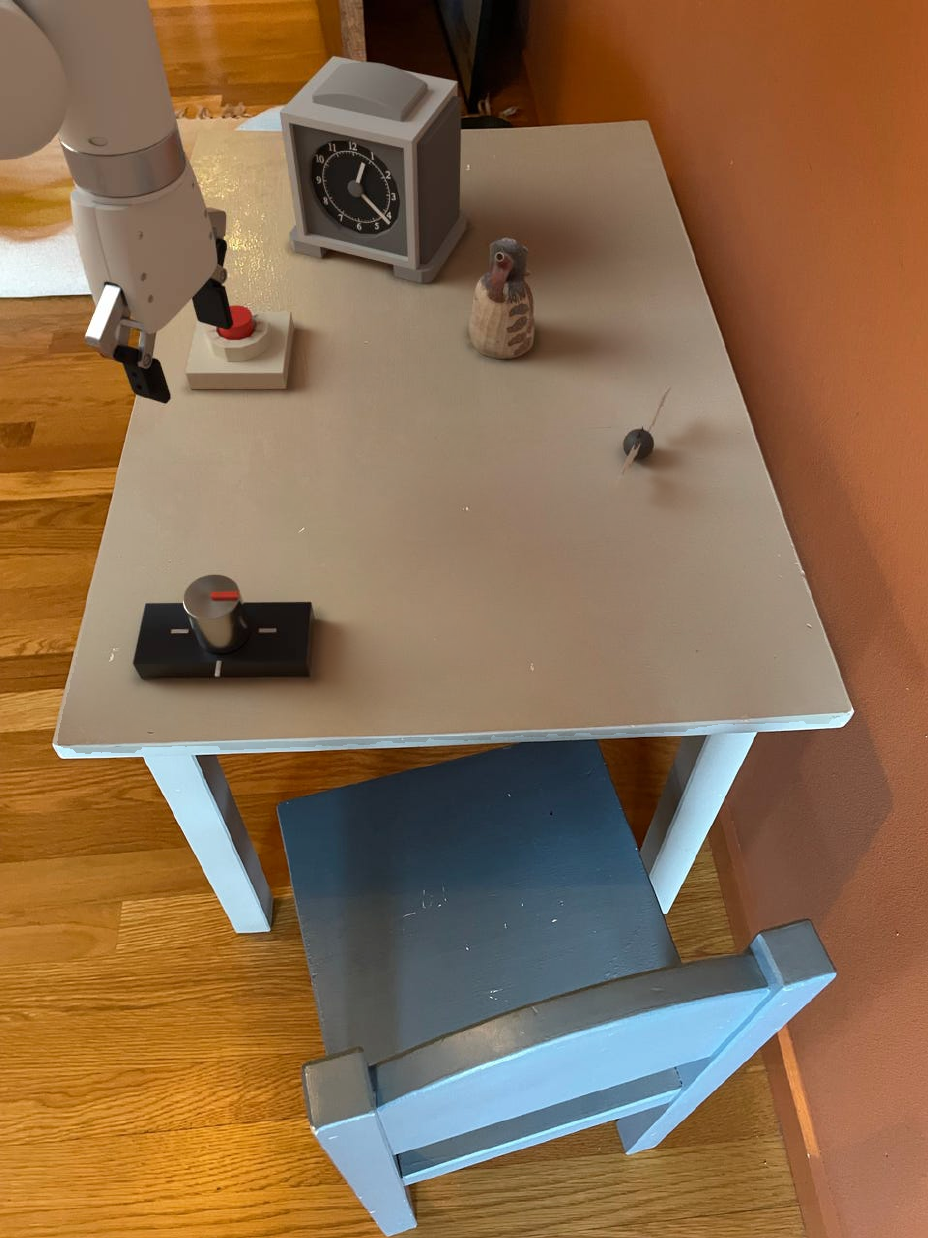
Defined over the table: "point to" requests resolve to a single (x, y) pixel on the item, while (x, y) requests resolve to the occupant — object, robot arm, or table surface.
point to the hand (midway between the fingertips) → (185, 359)
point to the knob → (217, 613)
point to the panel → (267, 652)
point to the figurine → (503, 304)
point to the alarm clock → (376, 166)
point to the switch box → (243, 355)
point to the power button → (239, 324)
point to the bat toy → (640, 441)
